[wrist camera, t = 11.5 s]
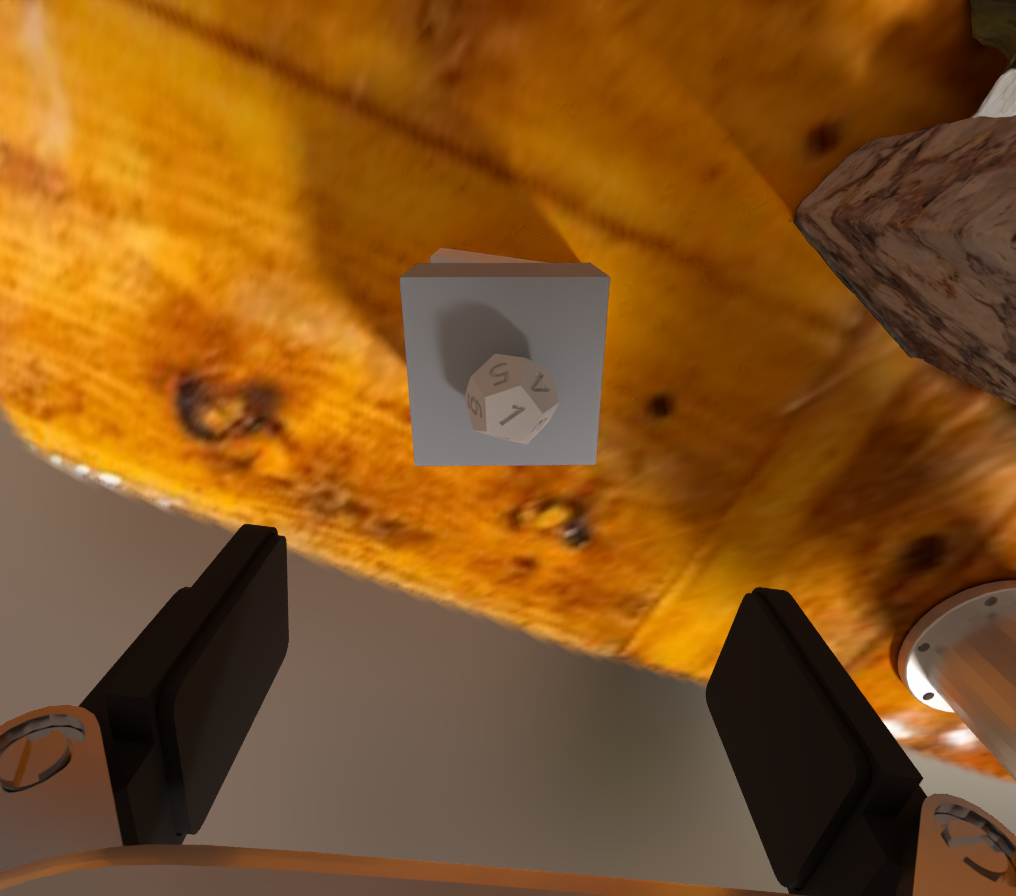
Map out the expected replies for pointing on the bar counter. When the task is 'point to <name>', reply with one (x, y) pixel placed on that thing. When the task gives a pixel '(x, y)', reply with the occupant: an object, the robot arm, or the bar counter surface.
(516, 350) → the upper block
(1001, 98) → the artificial flower
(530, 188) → the bar counter surface
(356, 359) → the bar counter surface
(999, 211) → the stone block
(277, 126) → the bar counter surface
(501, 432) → the game die
